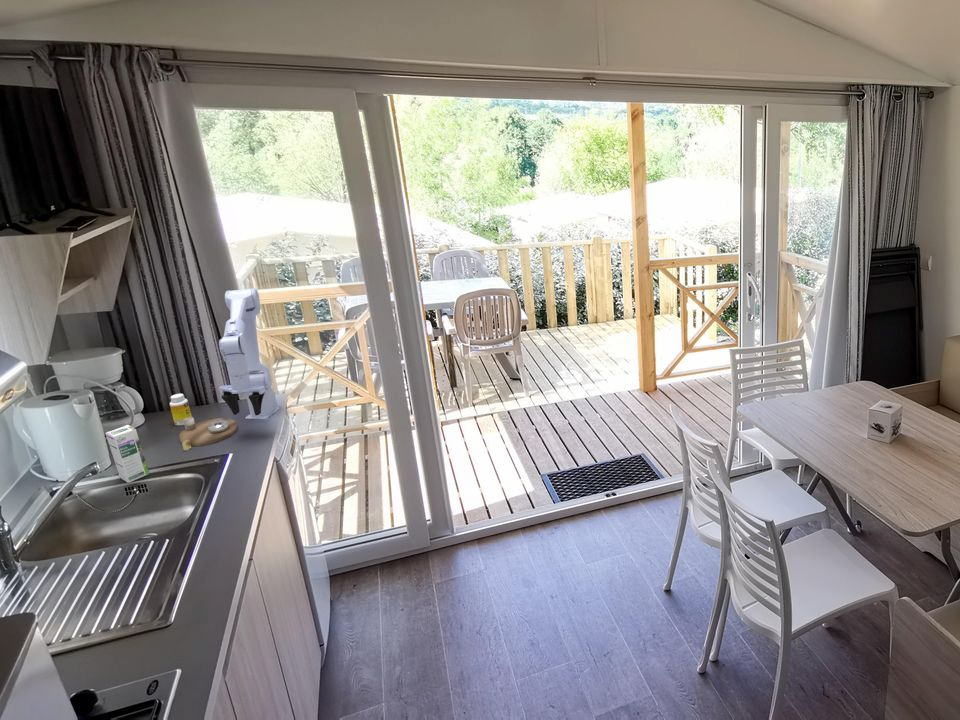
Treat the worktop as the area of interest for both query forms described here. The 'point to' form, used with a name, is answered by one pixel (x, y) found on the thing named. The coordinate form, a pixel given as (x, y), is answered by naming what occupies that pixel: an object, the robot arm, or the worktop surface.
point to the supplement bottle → (179, 408)
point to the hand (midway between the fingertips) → (247, 413)
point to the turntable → (205, 431)
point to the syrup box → (127, 453)
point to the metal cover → (218, 426)
